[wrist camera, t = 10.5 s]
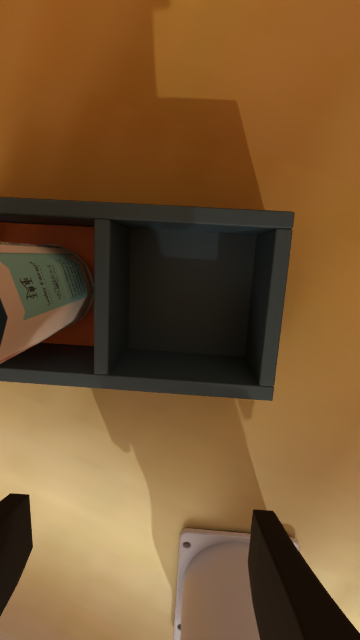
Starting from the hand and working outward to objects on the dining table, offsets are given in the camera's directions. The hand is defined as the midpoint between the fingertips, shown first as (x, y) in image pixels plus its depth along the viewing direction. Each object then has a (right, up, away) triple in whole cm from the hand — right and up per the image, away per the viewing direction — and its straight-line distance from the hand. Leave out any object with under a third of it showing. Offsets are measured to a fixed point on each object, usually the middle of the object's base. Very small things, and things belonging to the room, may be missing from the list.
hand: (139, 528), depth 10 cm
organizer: (-2, +8, +9) cm, 13 cm away
